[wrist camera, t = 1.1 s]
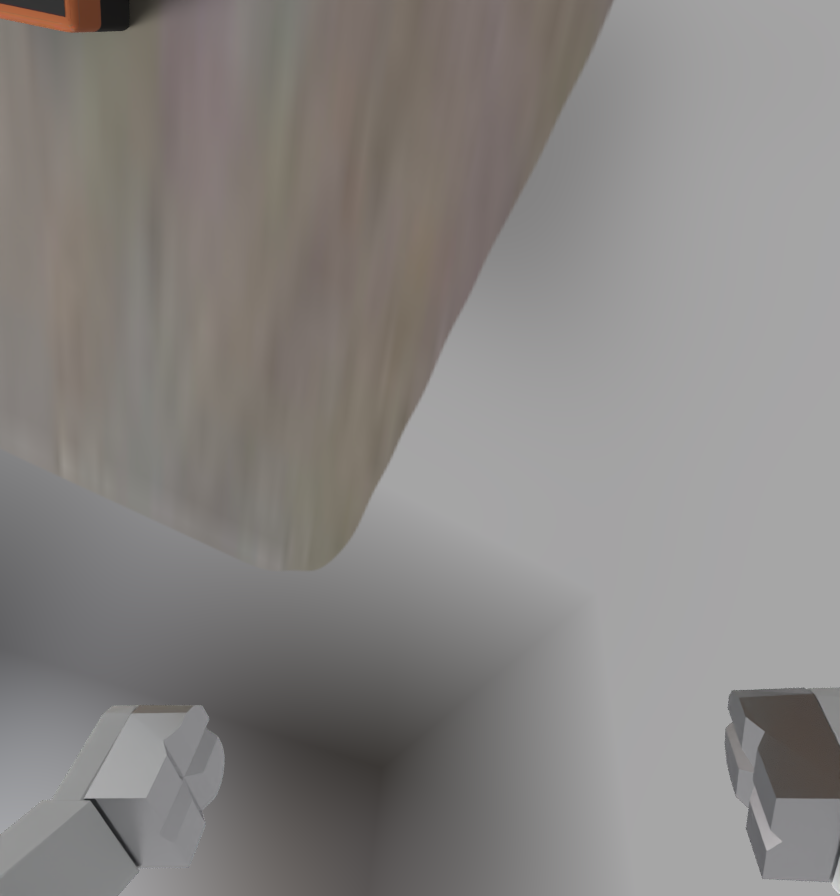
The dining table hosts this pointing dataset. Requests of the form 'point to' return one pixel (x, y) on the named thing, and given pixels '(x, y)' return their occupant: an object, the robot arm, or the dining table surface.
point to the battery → (69, 14)
